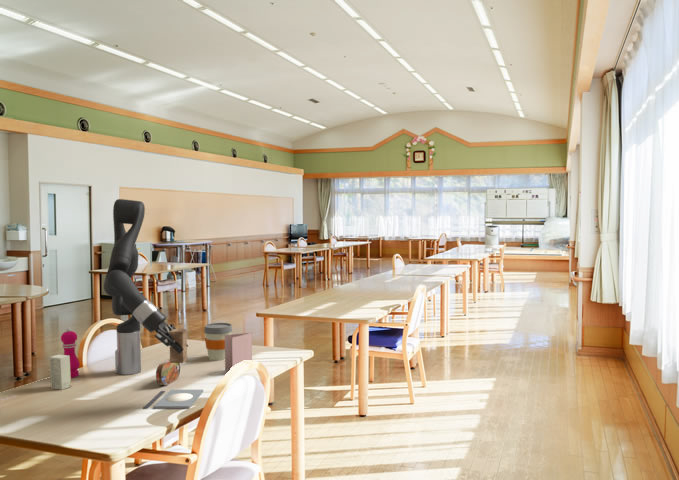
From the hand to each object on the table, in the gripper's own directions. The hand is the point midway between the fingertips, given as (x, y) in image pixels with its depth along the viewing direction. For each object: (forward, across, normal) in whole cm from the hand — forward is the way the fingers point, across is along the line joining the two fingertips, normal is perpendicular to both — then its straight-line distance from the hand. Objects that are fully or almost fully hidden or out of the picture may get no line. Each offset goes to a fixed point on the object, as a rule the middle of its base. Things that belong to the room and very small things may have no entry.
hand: (183, 349), depth 197 cm
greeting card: (+21, +37, +4) cm, 43 cm away
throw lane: (+10, 0, +15) cm, 18 cm away
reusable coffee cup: (+12, +58, +14) cm, 61 cm away
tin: (+4, +21, +22) cm, 31 cm away
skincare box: (-24, +14, +50) cm, 57 cm away
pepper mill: (-27, +29, +52) cm, 66 cm away
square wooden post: (+2, 0, +4) cm, 5 cm away
